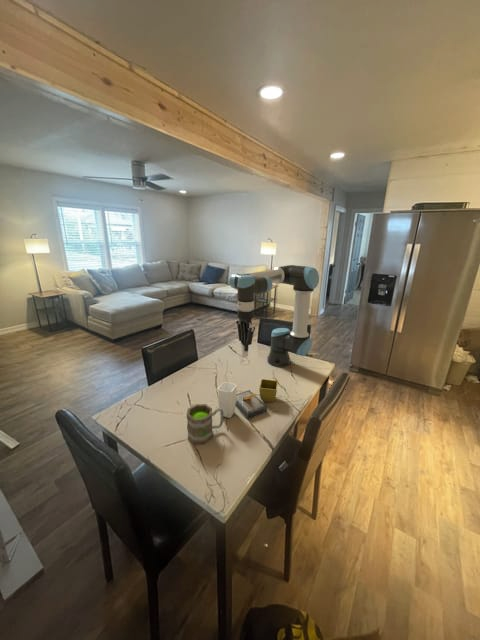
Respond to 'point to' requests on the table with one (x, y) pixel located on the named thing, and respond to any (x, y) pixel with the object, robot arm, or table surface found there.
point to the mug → (201, 423)
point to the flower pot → (268, 390)
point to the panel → (250, 405)
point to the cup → (227, 398)
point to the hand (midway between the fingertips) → (244, 356)
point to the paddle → (248, 396)
